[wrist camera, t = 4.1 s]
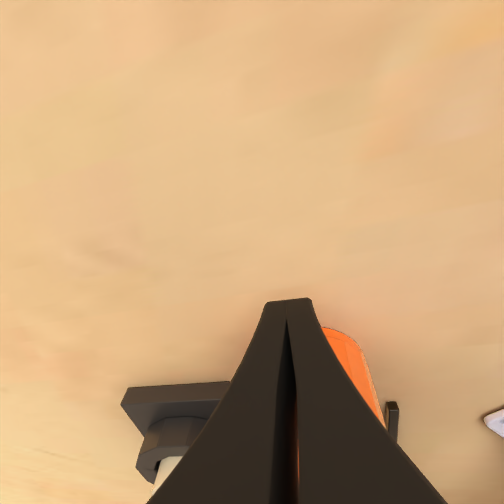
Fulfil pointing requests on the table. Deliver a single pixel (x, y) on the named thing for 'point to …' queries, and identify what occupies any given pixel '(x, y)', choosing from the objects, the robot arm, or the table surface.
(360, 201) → the table surface
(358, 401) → the robot arm
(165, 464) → the button
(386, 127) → the table surface
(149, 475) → the button block
